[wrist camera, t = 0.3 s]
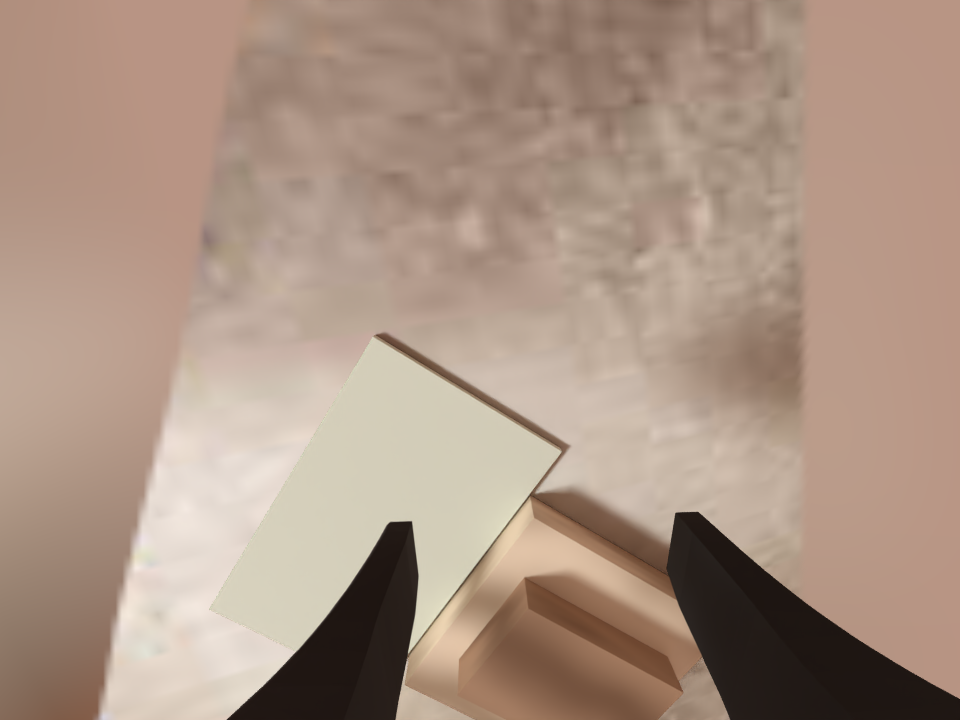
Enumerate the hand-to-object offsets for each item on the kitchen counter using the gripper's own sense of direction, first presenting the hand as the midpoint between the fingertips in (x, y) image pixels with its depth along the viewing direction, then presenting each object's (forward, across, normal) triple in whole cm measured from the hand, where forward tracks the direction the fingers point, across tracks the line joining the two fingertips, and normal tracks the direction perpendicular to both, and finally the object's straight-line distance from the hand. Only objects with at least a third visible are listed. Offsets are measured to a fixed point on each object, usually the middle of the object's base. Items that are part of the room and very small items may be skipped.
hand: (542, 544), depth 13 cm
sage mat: (+9, +7, +8) cm, 14 cm away
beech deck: (+8, -2, +14) cm, 17 cm away
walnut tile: (+6, -2, +14) cm, 16 cm away
